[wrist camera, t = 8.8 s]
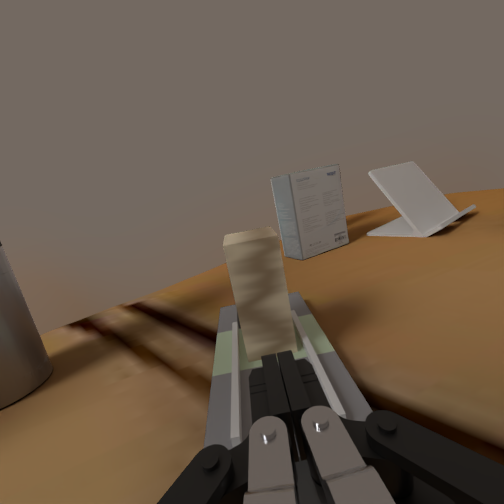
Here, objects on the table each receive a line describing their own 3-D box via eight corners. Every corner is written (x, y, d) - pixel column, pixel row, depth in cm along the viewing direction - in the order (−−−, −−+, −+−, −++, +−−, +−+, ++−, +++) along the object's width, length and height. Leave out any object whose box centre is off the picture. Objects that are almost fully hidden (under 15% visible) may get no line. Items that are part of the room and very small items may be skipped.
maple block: (248, 362, 27) (222, 246, 24) (246, 331, 33) (225, 235, 30) (297, 351, 27) (277, 235, 24) (286, 323, 33) (269, 226, 30)
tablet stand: (365, 236, 74) (359, 172, 70) (406, 216, 88) (403, 162, 84) (443, 238, 60) (441, 158, 56) (477, 214, 74) (477, 149, 70)
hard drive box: (328, 241, 76) (319, 167, 71) (350, 243, 69) (341, 162, 64) (283, 256, 69) (269, 176, 65) (302, 261, 62) (288, 172, 58)
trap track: (192, 667, 11) (174, 621, 11) (223, 319, 41) (218, 301, 41) (472, 603, 11) (472, 554, 11) (300, 303, 42) (297, 285, 41)
